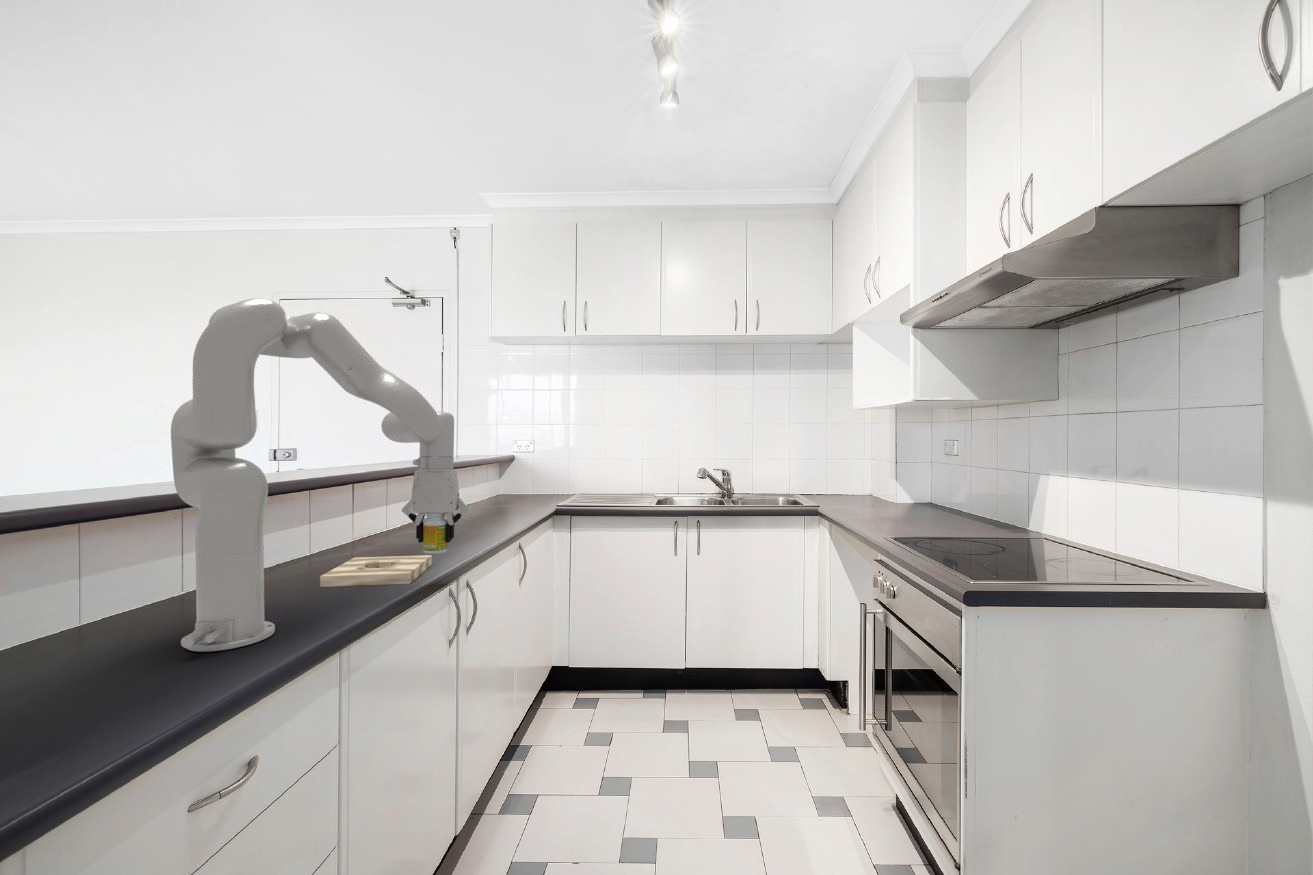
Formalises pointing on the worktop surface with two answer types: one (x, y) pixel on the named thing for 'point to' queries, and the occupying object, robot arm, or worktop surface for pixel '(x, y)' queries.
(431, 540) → the supplement bottle
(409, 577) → the plate
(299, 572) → the worktop surface
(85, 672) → the worktop surface
